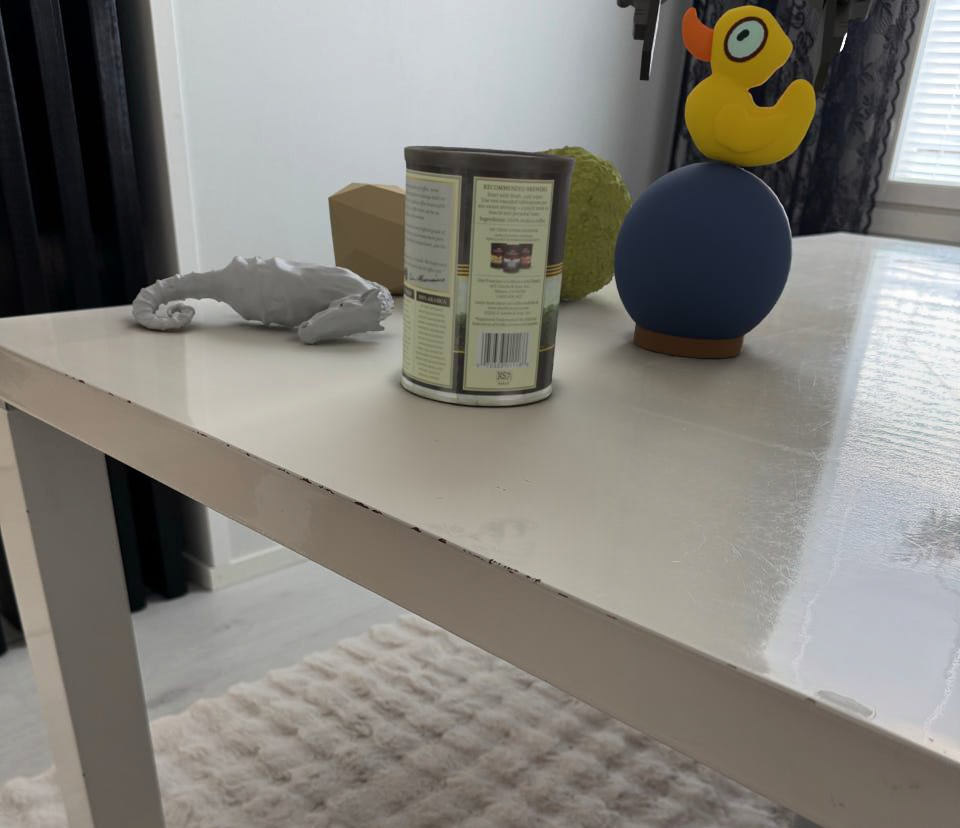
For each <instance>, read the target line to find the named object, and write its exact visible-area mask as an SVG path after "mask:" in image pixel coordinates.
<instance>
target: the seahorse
mask: <svg viewBox="0 0 960 828" xmlns="http://www.w3.org/2000/svg"><path fill="white" fill-rule="evenodd" d="M187 299H193V300H198V301H201V300H202V299H203V300H204V299H210V300H214V301H216V302H218V303H224V304H226V305H228V306H229V307H230V308H231V309H232V310H233V311H234V312H235V313H236V314H238V315H239V316H240V317H241V318H242V319H243V320H245V321H247V322H249V321H257V322H261V323H263V325H264V326H269V325H270V324H275V325H277V326H283V327H286V328H287V329H292V328H295V327H298V331H297V332H298V338H299V340H300V341H301V342H302V343H304V344H309V345H313V344H315V343H316V342H317V341H320V340H327V339H335V338H344V337H350V336H352V335H357V334H366V333H368V332H372V333H374V332H382V331H384V330H385V326H383V325H382V324H380V323H381V322H383V321H385V320H386V319H387V318H388V317H391V315H392V314H393V309H394V308H395V300H394V299H393V296H392V294H390V292H389V291H388V289H387V288H385V287H384V286H381V285H380V284H378V283H376V282H370V281H369V280H365V279H363V278H361V277H360V276H358V275H357V274H355V273H353V272H352V271H350V270H348V269H345V268H341V267H336V265H334V266H331V265H324V264H319V263H315V262H309V261H304V260H288V259H282V258H281V257H278V256H273V257H272V258H268V259H267V258H266V259H265V258H262V257H261V256H260V255H255V256H254V257H250V258H247V257H241V256H239V255H235V256H234V257H233V258H232V260H231V261H230V263H228V265H226V266H225V267H223V268H220V269H212V270H210V271H206V272H196V271H194V270H193V271H191V272H190V273H186V274H179V273H176V274H174V275H173V276H170V277H167V278H166V277H165V278H164V279H161V280H160V279H156V281H155V283H153V284H151V285H149V286H146V287H142V288H140V291H139V293H138V294H137V295H136V298H135V299H134V300H133V301H132V310H131V314H132V316H133V317H134V319H135V321H137V323H138V324H140V325H141V326H143V327H146V328H147V329H149V330H160V331H162V332H165V331H166V330H170V329H175V330H179V329H180V328H181V327H183V326H188V325H190V324H191V323H192V320H193V318H194V316H195V315H196V310H195V308H194V307H193V306H191V305H185V303H183V302H185V301H186V300H187ZM172 300H173V301H177V300H180V301H182V302H178V303H176V304H172V305H169V306H168V307H167V309H166V315H167V317H168V318H165V317H158V316H157V314H156V313H157V311H158V310H159V309H160V306H161V305H164V306H167V305H168V303H169V302H170V301H172ZM175 313H179V314H178V315H177V317H176V316H173V315H174V314H175Z"/></svg>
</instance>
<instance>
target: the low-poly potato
mask: <svg viewBox="0 0 960 828" xmlns="http://www.w3.org/2000/svg"><path fill="white" fill-rule="evenodd" d="M405 196H406V189H404V188H402V187H400V186H398V185H396V184H383V183H382V184H381V183H366V182H365V183H364V182H351V183H349V184H347V185H346V186H344V187H343V188H341V189H339V190H338V191H337V192H334V193H333V194H332V195H329V196H328V197H327V200H328V211H329V222H330V224H329V225H330V231H331V238H332V239H331V240H332V247H333V255H334V264H335V265H334V266H336V267H341V268H345V269H348V270H350V271H352V272H353V273H355V274H357V275H358V276H360V277H361V278H363V279H365V280H369V281H370V282H376V283H378V284H380V285H381V286H384V287H385V288H387V289H388V291H389V292H390V294H391V295H404V254H405Z"/></svg>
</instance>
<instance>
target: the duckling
mask: <svg viewBox="0 0 960 828" xmlns="http://www.w3.org/2000/svg"><path fill="white" fill-rule="evenodd" d="M697 15H698V14H697V10H696V8H695V7H693V6H692V7H689V8H688V10H686V12H685V13H684V16H683V18H682V20H681V34H682V42H683V45H684V47H685V48H686V50H687V51H688V52H689V53H690V54H691V55H692V56H693V57H694V58H695V59H696V60H699V61H702V62H710V67H711V68H710V69H711V74H710V75H709V76H708V77H706V78H705V79H702V81H701V82H699V83H697V85H696V86H695V87H694V88H692V90H691V91H690V93H689V94H688V95H687V98H686V101H685V106H684V120H685V121H684V122H685V126H686V128H687V130H688V132H689V135H690V137H691V139H692V141H693V143H694V145H695V146H696V148H697V150H698V151H699V152H700V153H701V154H703V156H705V157H706V158H708V159H710V160H714V161H717V162H720V163H725V164H730V165H733V166H737V167H746V168H751V167H759V166H766V165H772V164H776V163H778V162H781V161H782V160H784V159H785V158H787V157H789V156H790V155H792V154H793V153H794V152H795V151H796V150H797V149H798V148H799V146H800V144H801V143H802V141H803V140H804V138H805V136H806V135H807V132H808V130H809V128H810V126H811V123H812V120H813V118H814V116H815V113H816V110H817V109H816V108H817V102H816V92H814V89H813V86H812V85H813V84H811V82H809V81H808V80H806V79H803V78H800V79H796V80H794V81H792V82H791V83H790V84H789V85H788V86H787V88H786V89H785V91H783V93H782V94H781V96H780V97H779V99H778V100H777V102H776V104H774V105H773V106H759V105H757V104H756V103H755V101H754V99H753V95H752V94H751V93H750V92H749V90H750V89H751V88H755V87H759V86H761V85H763V84H764V83H766V82H767V81H768V80H769V79H770V78H771V76H772V75H774V73H775V72H776V71H777V70H778V69H780V68H781V67H783V66H784V65H785V64H786V62H787V61H788V60H789V58H790V56H791V54H792V52H793V48H794V47H793V42H792V41H791V39H790V38H789V35H786V32H785V31H784V30H783V29H782V27H781V25H780V24H779V23H778V21H777V19H776V18H775V17H774V16H773V15H772V13H771V12H770V11H769V10H767V9H765V8H764V7H763V8H762V7H760V6H756V5H742V6H738V7H734V8H731V9H728V10H727V11H726V12H725V13H724V14H722V15H721V17H720V18H719V19H718V20H717V21H716V23H715V26H714V28H709V27H708V26H707V25H705V24H703V23H702V22H701V21H700V19H699V18H698V16H697Z"/></svg>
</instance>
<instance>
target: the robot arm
mask: <svg viewBox="0 0 960 828" xmlns="http://www.w3.org/2000/svg"><path fill="white" fill-rule="evenodd" d="M806 1H807V3H808V4H810V6H811V7H812V8H813V9H814V10H815V11H816V12H817V13H818V14H819V15H820V16H821V18H820V21H819V25H818V29H817V39H816V46H815V47H816V48H815V56H814V65H813V66H814V67H813V76H812V84H811V85H812V86H813V89H814V92H815V93H822V92H823V90H824V86H825V82H826V79H827V76H828V73H829V70H830V67H831V63H832V54H840V53H841V51H842V50H843V48H844V45H845V41H846V38H847V35H848V29H849V21H850V20H853V21H854V22H855V23H863V22H865V21H867V19H868V16H869V14H870V10H871V7H872V4H873V2H874V0H806ZM666 2H668V0H616V5H617V7H619V8H621V9H627V8H628V7H630V6H631V7H632V8H634V13H633V19H632V31H631V36H632V39H633V40H634V41H643V44H642V50H641V59H640V71H639V72H640V73H639V81H645V82H649V81H650V75H651V70H652V64H653V59H654V58H653V57H654V52H655V51H654V50H655V45H656V39H657V33H658V27H659V20H660V13H661V12H660V10H661V6H662V5H664V4H665V3H666Z"/></svg>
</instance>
